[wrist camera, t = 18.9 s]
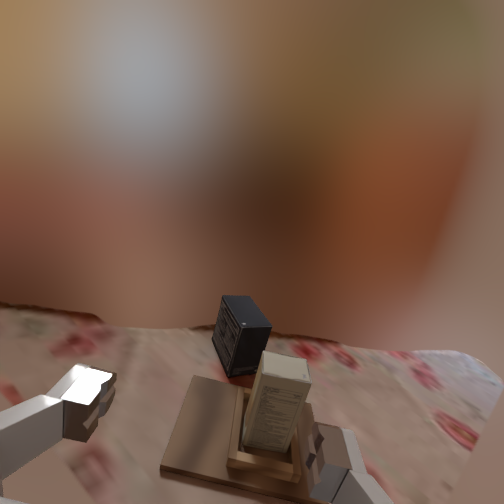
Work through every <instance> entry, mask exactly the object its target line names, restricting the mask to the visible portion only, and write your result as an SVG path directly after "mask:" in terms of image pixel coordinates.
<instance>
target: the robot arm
mask: <svg viewBox="0 0 504 504" xmlns="http://www.w3.org/2000/svg"><path fill="white" fill-rule="evenodd" d="M116 376H117V374H116V373H115V372H111V371H107V370H104V369H100V368H96V367H93V366H88V365H85V364H81V363H78V364H76V365H74V366H73V367H72V368H71V369H70V370H69V371H68V372H67V373H66V374H65V375H64V376H63V377H62V378H61V379H60V381H59V382H58V383H57V384H56V385H55V386H54V387H53V388H52V389H51V390H50V391H49V392H48V393H47V394H46V395H38V396H36V397H34V398H32V399H29V400H27V401H25V402H22V403H20V404H18V405H15V406H13V407H11V408H9V409H6V410H4V411H2V412H0V504H28V503H24V502H20V501H16V500H12V499H7V498H3V487H2V480H3V479H5V478H6V477H8V476H9V475H11V474H12V473H14V472H15V471H17V470H18V469H19V468H21V467H22V466H24V465H25V464H27V463H28V462H30V461H31V460H33V459H34V458H36V457H37V456H39V455H40V454H42V453H43V452H45V451H46V450H47V449H49V448H50V447H52V446H53V445H55V444H56V443H58V442H59V441H61V440H62V438H66V439H71V440H75V441H80V442H85V443H86V442H87V441H88V439H89V438H90V436H91V435H92V433H93V432H94V430H95V429H96V427H97V426H98V419H99V418H100V417H102V416H104V415H105V414H106V412H107V411H108V409H109V408H110V405H111V403H112V401H113V398H114V395H115V388H114V386H113V384H114V383H115V381H116ZM311 429H312V434H311V435H309V436H308V438H307V440H306V444H305V450H304V457H305V464H306V466H307V467H308V469H309V473H308V475H307V483H308V492H309V497H311V498H315V499H318V500H322V501H325V502H329V503H332V504H394V503H393V501H392V500H391V499H390V498H389V497H388V495H387V494H386V493H385V492H384V490H383V489H382V488H381V487H380V485H379V484H378V483H377V482H376V480H375V479H374V478H373V477H372V475H369V474H367V471H366V468H365V465H364V462H363V459H362V456H361V452H360V449H359V446H358V443H357V440H356V437H355V434H354V432H353V431H352V430H349V429H345V428H339V427H337V426H332V425H328V424H324V423H319V422H315V423H313V426H312V428H311Z"/></svg>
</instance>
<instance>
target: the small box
mask: <svg viewBox="0 0 504 504" xmlns="http://www.w3.org/2000/svg"><path fill="white" fill-rule="evenodd" d="M271 329H272V325H271V324H270V322H269V321H268V320H267V318H266V317H265V316H264V314H263V313H262V312H261V311H260V309H259V308H258V307H257V305H256V304H255V303H254V301H253V300H252V299H251V297H250V296H230V295H223V296H222V300H221V306H220V310H219V314H218V318H217V322H216V326H215V330H214V333H213V337H212V341H213V344H214V346H215V348H216V351H217V353H218V355H219V358H220V360H221V363H222V365H223V367H224V370H225V372H226V374H227V377H233V376H239V375H247V374H254V373H257V370H258V367H259V363H260V359H261V356H262V352H263V351H265V347H266V344H267V341H268V338H269V335H270V332H271Z"/></svg>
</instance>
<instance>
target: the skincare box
mask: <svg viewBox="0 0 504 504" xmlns="http://www.w3.org/2000/svg"><path fill="white" fill-rule="evenodd" d="M311 384H312V382H311V377H310V372H309V367H308V364H307V360H306V359H302V358H298V357H294V356H289V355H284V354H279V353H274V352H268V351H263V352H262V356H261V359H260V363H259V367H258V370H257V374H256V377H255V381H254V384H253V388H252V391H251V395H250V398H249V402H248V406H247V409H246V413H245V416H244V425H243V436H242V444H243V445H246V446H250V447H255V448H260V449H265V450H270V451H276V452H282V453H286V452H287V450H288V447H289V445H290V442H291V439H292V436H293V434H294V431H295V428H296V425H297V423H298V420H299V417H300V414H301V411H302V409H303V406H304V403H305V400H306V398H307V395H308V392H309V389H310V387H311Z"/></svg>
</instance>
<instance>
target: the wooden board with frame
mask: <svg viewBox="0 0 504 504" xmlns="http://www.w3.org/2000/svg"><path fill="white" fill-rule="evenodd" d="M251 391H252V389H249V388H245V387H241V386H237V385H233V384H229V383H224V382H220V381H216V380H212V379H208V378H204V377H200V376H196V375H193V378H192V381H191V383H190V386H189V389H188V391H187V394H186V397H185V399H184V402H183V405H182V408H181V410H180V413H179V416H178V418H177V421H176V424H175V427H174V429H173V432H172V435H171V437H170V440H169V443H168V446H167V448H166V451H165V454H164V456H163V459H162V462H161V465H160V469H161V470H165V471H170V472H174V473H178V474H182V475H186V476H190V477H194V478H198V479H203V480H207V481H211V482H215V483H219V484H223V485H227V486H231V487H236V488H240V489H244V490H248V491H252V492H256V493H260V494H264V495H269V496H273V497H277V498H281V499H285V500H289V501H293V502H297V503H302V504H328V502H325V501H322V500H318V499H315V498H311V497H309V492H308V483H307V475H308V473H309V469H308V467H307V466H306V464H305V457H304V450H305V444H306V440H307V438H308V436H309V435H311V434H312V429H311V428H312V426H313V423H314V418H313V413H312V407H311V404H310V403H306V402H305V403H304V406H303V409H302V411H301V414H300V417H299V420H298V423H297V425H296V428H295V431H294V434H293V436H292V439H291V442H290V445H289V447H288V450H287V452H286V453H282V452H276V451H270V450H265V449H260V448H255V447H250V446H246V445H243V444H242V436H243V425H244V416H245V413H246V409H247V406H248V402H249V398H250V395H251Z"/></svg>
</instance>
